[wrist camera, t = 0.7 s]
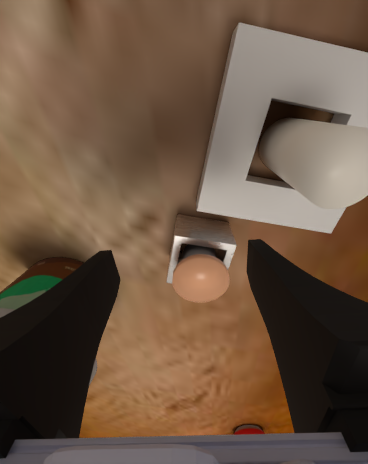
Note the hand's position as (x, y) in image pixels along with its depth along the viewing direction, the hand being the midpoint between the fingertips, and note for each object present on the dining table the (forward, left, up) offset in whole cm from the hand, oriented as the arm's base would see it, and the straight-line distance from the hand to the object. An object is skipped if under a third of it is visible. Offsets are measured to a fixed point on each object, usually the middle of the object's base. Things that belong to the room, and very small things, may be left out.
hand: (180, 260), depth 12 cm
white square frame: (-7, -6, -10) cm, 13 cm away
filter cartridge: (-7, -6, -10) cm, 13 cm away
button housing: (-2, +4, -10) cm, 11 cm away
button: (-2, +4, -7) cm, 9 cm away
